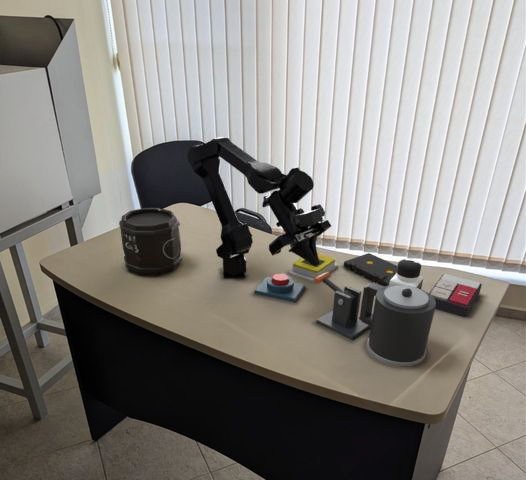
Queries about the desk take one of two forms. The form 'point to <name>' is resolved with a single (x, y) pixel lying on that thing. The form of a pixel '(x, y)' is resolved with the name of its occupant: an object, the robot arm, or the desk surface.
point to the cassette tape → (372, 268)
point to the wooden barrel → (151, 241)
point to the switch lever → (332, 284)
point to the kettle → (397, 322)
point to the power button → (280, 279)
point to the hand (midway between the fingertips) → (317, 265)
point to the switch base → (345, 315)
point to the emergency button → (313, 267)
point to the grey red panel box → (455, 294)
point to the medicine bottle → (408, 274)
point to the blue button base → (280, 289)
